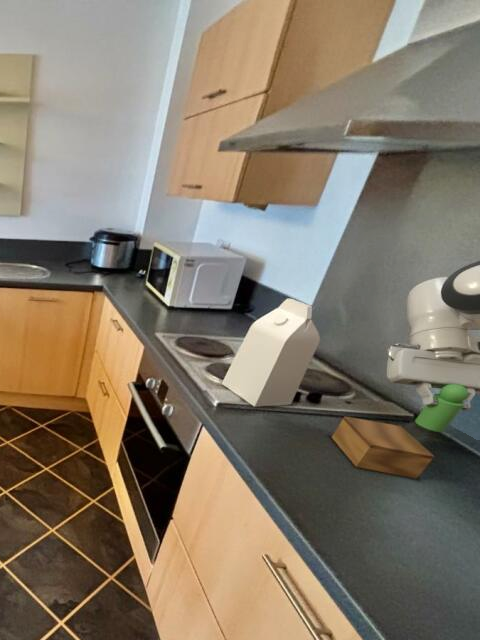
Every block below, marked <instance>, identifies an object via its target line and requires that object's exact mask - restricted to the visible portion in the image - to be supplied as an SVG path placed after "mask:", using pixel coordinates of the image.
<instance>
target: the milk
mask: <svg viewBox="0 0 480 640" xmlns="http://www.w3.org/2000/svg"><path fill="white" fill-rule="evenodd" d="M312 313H313V306H311V305H310V304H306V303H304V302H302V301H299V300H296V299H295V298H286V299H285V300H284V301H282V303H281V304H280V305H279V306H278V307H276V308H275V309H273V310H272V311H270V312H268V313H267V314H265V315H263V316H261V317H260V318H258V319H256V320H255V321H254V322H253V323H252V324H251V325H250V327H249V329H248V331H247V333H246V335H245V337H244V339H243V341H242V342H241V345H240V346H239V348H238V350H237V352H236V354H235V356H234V358H233V359H232V362H231V364H230V366H229V368H228V370H227V372H226V373H225V376H224V378H223V380H222V382H221V384H222V385H223V386H224V387H226V388H227V389H229V390H230V391H231V392H233V393H234V394H236V395H237V396H238V397H240V398H241V399H243V400H244V401H245V402H247V403H248V404H250V405H251V406H252V407H254V408H255V407H258V408H259V407H272V406H273V407H274V406H286V405H287V406H288V405H291V404H292V403H293V401H294V398H295V397H296V394H297V392H298V390H299V388H300V385H301V384H302V381H303V379H304V377H305V375H306V373H307V370H308V368H309V366H310V363H311V361H312V360H313V357H314V355H315V353H316V351H317V349H318V346H319V345H320V342H321V337H320V333H319V331H318V329H317V327H316V326H315V324H314V322H313V320H312V316H313V315H312Z"/></svg>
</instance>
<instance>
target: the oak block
mask: <svg viewBox="0 0 480 640" xmlns="http://www.w3.org/2000/svg"><path fill="white" fill-rule="evenodd" d="M331 438H332V440H333V441H334V442H335V443H336V445H337V446H338V447H339V449H341V451H342V452H343V453H344V454H345V456H346V457H347V458H348V459H349V460H350V461H351V463H352V464H353V465H354V466H355V467H356V468H360V469H365V470H371V471H375V472H381V473H386V474H390V475H395V476H400V477H405V478H410V479H418V478H419V477H420V475H421V474H422V473H423V472H424V470H425V469H426V468H427V467H428V466H429V464H430V463H431V462H432V461H433V459H434V458H435V455H434V454H433V453H431V452H430V451H429V450H428V449H427V448H426V447H425V446H424V445H422V443H420V442H419V441H418V440H417V439H416V438H415V437H414V436H412V435H411V433H409V432H408V431H407V430H406V429H405V428H403V426H401V425H396V424H391V423H385V422H380V421H373V420H367V419H363V418H357V417H351V416H344V417H343V418H342V420H341V421H340V422H339V424H338V425H337V428H336V429H335V431H334V432H333V434H332V436H331Z"/></svg>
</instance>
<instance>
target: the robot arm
mask: <svg viewBox="0 0 480 640" xmlns="http://www.w3.org/2000/svg"><path fill="white" fill-rule="evenodd" d="M406 318H407V319H406V320H407V324H408V326H409V327H410V333H409V336H408V337H409V343H402V342H396V343H394V344H391V345H390V346H389V347H388V348H387V355H388V358H387V363H386V378H387V380H389V382H390V383H393V384H399V385H409V386H414V389H415V390H414V391H416V393H417V394H418V395H419V396H420V397H421V399H422V405H424V406H426V405H429V406H434V405H438V401H437V400H438V397H436V396H433V395H434V393H432V391H431V389H432V388H433V389H440V390H441V389H442V388H443V387H444V386H446V385H450V384H458V385H461V386H463V387H465V388H466V389H467V391H468V397H467V398H466V399H465V400H463V401H462V402H464V403H465V405H464V406H463V408H462V409H461V410H460V411H466V410H470V409H471V408H472V405H471V401H472V399H473V398H474V397H475V395H476V394H480V339H478V338H476V337H474V336H472V335H469V331H471V330H472V331H476V330H480V260H477V261H474V262H472V263H470V264H466V265H464V266H463V267H460V268H459V269H457V270H455V271H454V272H452V273H451V274H450V275H448V276H441V277H434V278H431V279H427V280H425V281H422V282H421V283H419V284H417V285H415V286H414V287H413V288H412V289H411V290H410V291H409V293H408V295H407V300H406Z"/></svg>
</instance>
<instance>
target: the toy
mask: <svg viewBox="0 0 480 640" xmlns="http://www.w3.org/2000/svg"><path fill="white" fill-rule="evenodd" d="M433 396H436V397H438V400H437V401H438V405H434V406H429V405H424V407H423V409H422V410H421V412H420V413H419V414H418V415H417V417H416V419H414V422H415V423H416V425H418V426H420V427H422V428H424V429H426V430H429V431H432V432H435V433H436V432H437V433H443V432H445V431H446V429H447V428H448V427H449V426H450V424H451V423H452V422H453V421H454V419H455V418H456V417H457V415H458V414H459V413H460V412H461V411H462V410H461V409H462V408H463V406H464V405H465V403H464V402H462V401H463V400H465V399H466V398H467V397H468V391H467V389H466V388H465V387H463V386H461V385H458V384H450V385H446V386H444V387H443V388H442V389H440V390H439V393H435V394H434V393H433Z"/></svg>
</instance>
